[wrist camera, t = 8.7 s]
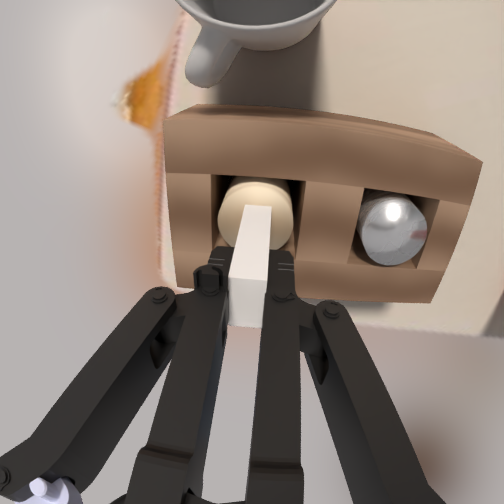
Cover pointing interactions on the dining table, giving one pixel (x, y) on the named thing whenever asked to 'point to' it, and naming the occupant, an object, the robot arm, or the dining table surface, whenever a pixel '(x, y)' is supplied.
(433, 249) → the walnut socket block
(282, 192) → the beech peg
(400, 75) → the dining table surface
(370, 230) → the aluminium peg
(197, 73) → the mug
